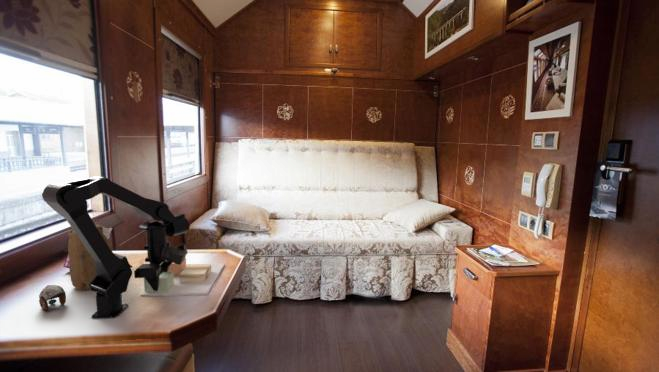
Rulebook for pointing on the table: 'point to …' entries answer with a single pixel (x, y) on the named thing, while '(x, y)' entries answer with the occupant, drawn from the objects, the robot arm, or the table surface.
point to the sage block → (161, 283)
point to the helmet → (51, 296)
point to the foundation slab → (195, 273)
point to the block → (81, 261)
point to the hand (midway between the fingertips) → (159, 286)
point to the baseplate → (190, 285)
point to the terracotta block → (177, 268)
